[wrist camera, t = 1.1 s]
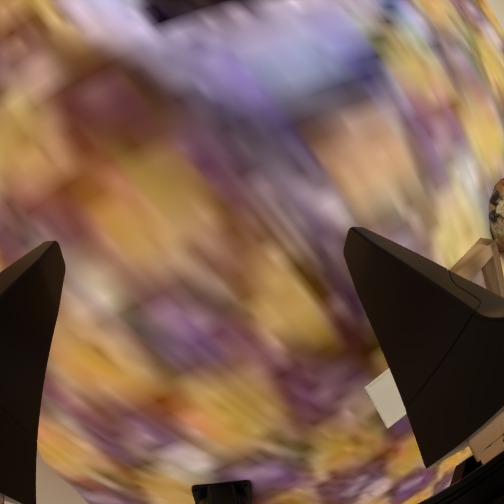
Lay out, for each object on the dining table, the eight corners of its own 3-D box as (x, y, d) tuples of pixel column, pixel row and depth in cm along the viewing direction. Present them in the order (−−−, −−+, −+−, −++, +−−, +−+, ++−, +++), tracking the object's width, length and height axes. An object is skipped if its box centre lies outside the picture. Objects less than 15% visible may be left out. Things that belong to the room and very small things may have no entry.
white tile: (385, 425, 31) (387, 428, 30) (363, 387, 29) (366, 390, 29) (435, 383, 32) (438, 385, 31) (420, 340, 30) (423, 342, 29)
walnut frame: (454, 391, 33) (465, 399, 30) (425, 293, 29) (440, 299, 27) (500, 340, 34) (512, 345, 31) (480, 237, 30) (495, 240, 27)
